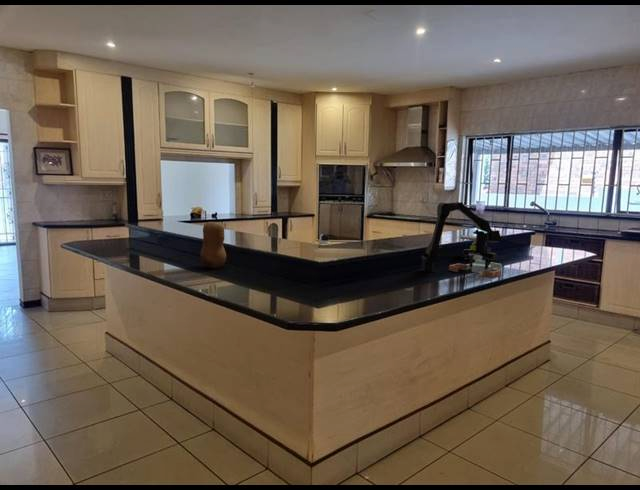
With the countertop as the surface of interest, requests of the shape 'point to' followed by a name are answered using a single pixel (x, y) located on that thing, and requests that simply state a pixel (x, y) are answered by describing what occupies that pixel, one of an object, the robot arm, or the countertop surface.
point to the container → (324, 239)
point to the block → (480, 268)
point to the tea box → (472, 245)
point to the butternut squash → (213, 245)
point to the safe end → (493, 265)
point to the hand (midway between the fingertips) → (478, 268)
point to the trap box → (493, 273)
